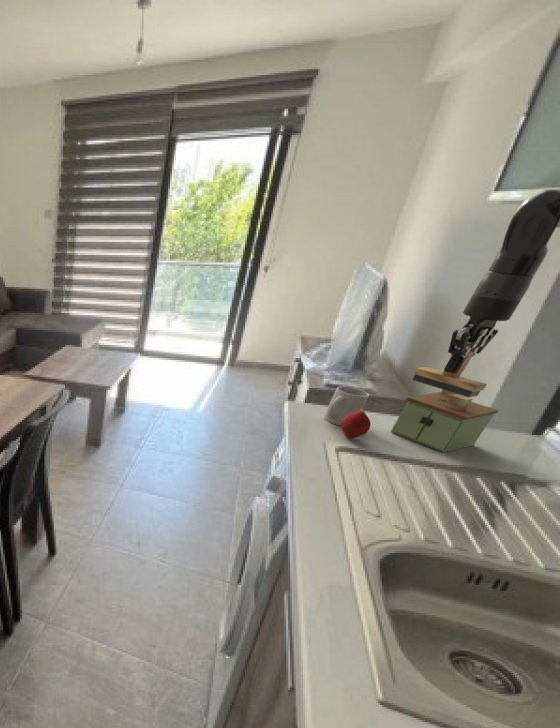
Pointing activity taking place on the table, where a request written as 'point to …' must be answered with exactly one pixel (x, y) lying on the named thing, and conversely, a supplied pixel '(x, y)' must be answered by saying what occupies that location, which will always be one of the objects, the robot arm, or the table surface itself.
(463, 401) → the crumb
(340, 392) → the cup
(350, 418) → the onion
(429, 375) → the brush
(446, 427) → the cabinet
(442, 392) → the crumb
